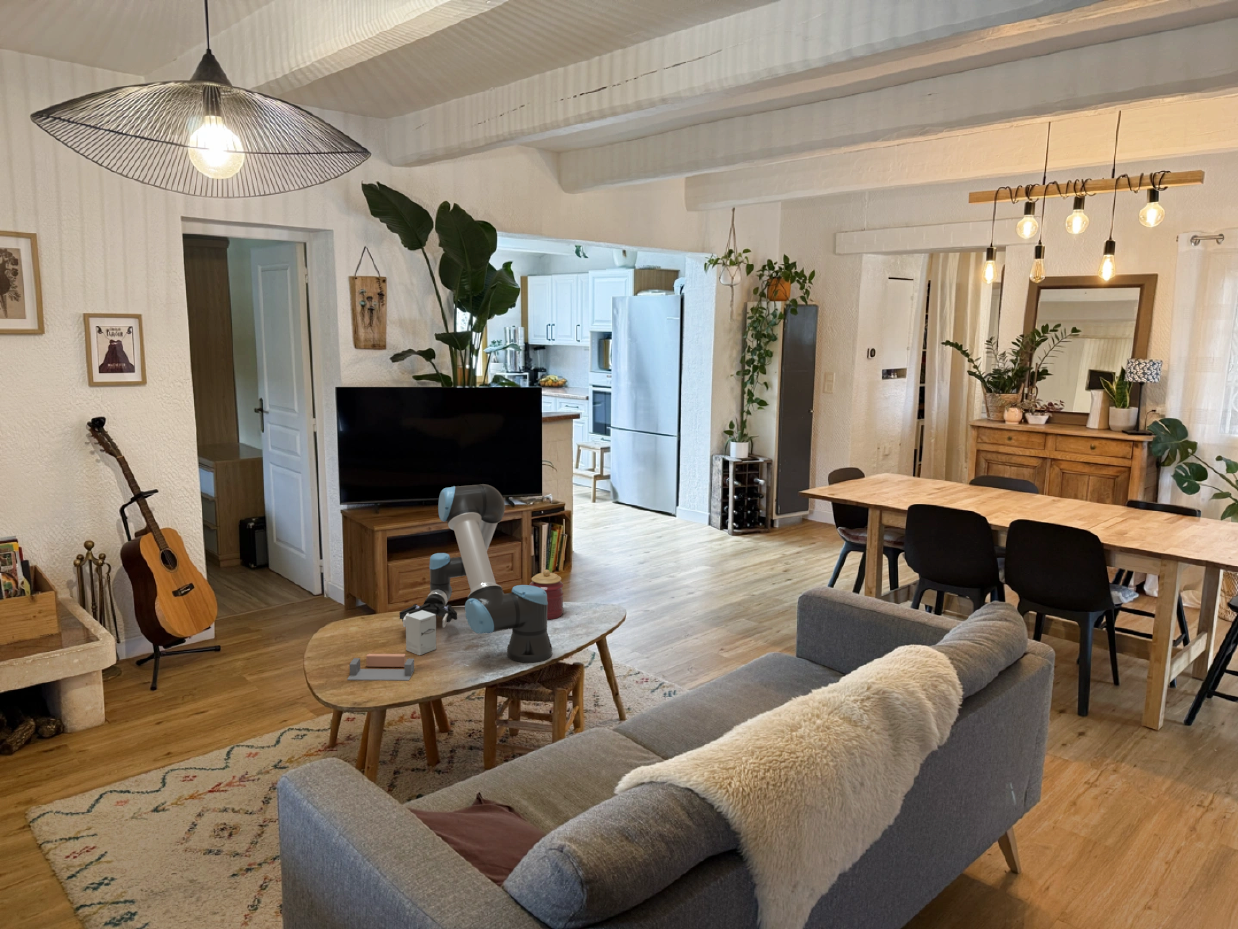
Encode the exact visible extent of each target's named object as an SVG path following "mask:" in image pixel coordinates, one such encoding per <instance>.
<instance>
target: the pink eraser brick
mask: <svg viewBox="0 0 1238 929" xmlns="http://www.w3.org/2000/svg"><path fill="white" fill-rule="evenodd" d="M365 657H366V659H365V660H366V667H376V668H378V667H385V668H386V667H392V668H395V667H396V668H398V667H399V668H400V667H401V668H402V667H403V668H404V665H405V663H406V661H407V658H406V657H407V656H406V653H367V654H366V656H365Z"/></svg>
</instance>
